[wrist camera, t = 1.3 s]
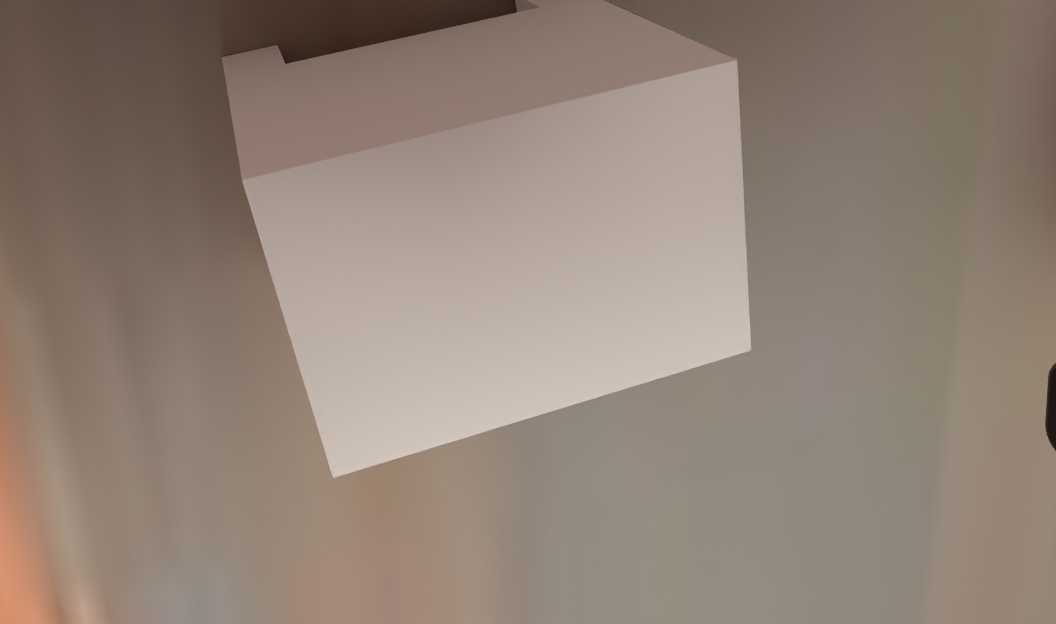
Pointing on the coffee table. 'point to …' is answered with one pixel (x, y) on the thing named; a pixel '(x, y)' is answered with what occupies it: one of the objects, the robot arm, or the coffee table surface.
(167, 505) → the coffee table surface
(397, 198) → the block
